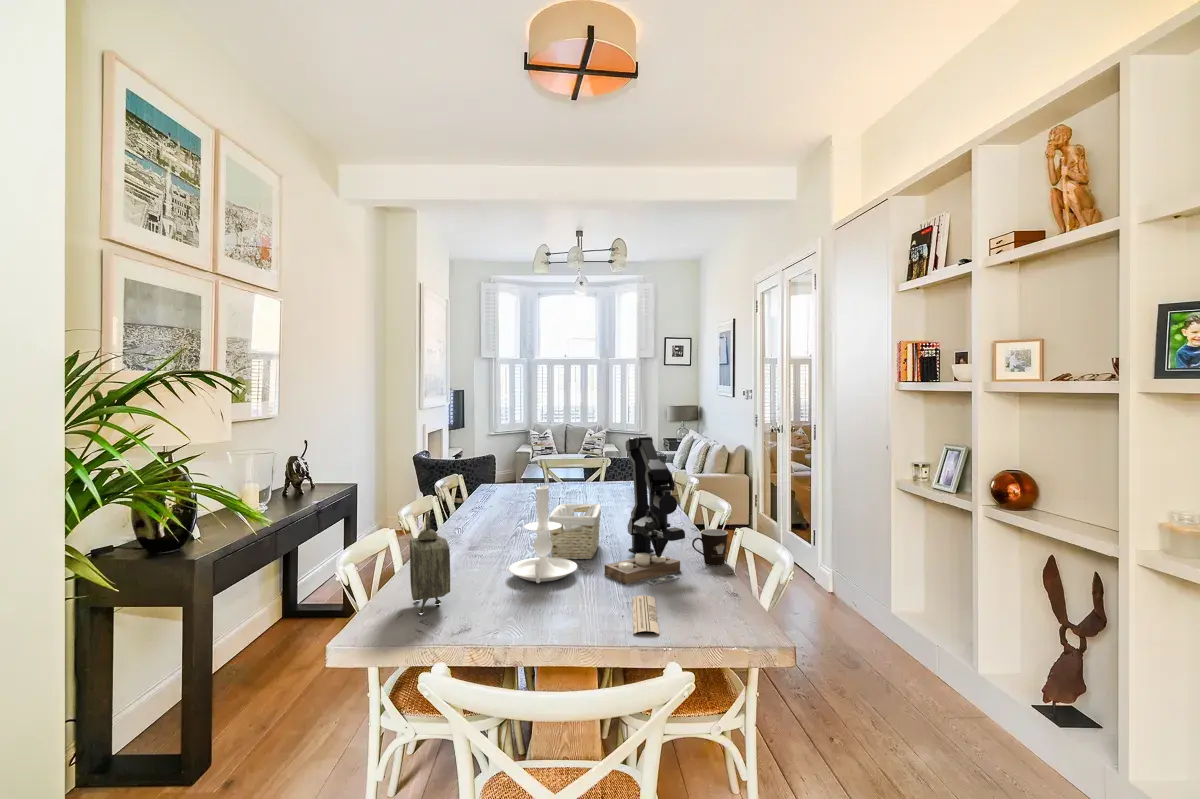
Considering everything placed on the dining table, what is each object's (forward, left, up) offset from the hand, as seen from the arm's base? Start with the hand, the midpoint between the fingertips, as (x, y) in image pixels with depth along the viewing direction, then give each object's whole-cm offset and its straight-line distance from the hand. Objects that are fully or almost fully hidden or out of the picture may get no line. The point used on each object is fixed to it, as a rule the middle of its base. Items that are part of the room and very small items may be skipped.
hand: (658, 556), depth 190 cm
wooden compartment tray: (0, -7, -4) cm, 8 cm away
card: (+9, -7, -4) cm, 12 cm away
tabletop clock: (-11, -70, -4) cm, 70 cm away
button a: (0, -13, -3) cm, 13 cm away
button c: (0, 0, -3) cm, 3 cm away
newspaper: (+28, -28, -5) cm, 40 cm away
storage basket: (-33, -9, -4) cm, 34 cm away
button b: (0, -7, -2) cm, 7 cm away
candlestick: (-13, -35, -4) cm, 37 cm away
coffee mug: (+5, +17, -4) cm, 19 cm away
